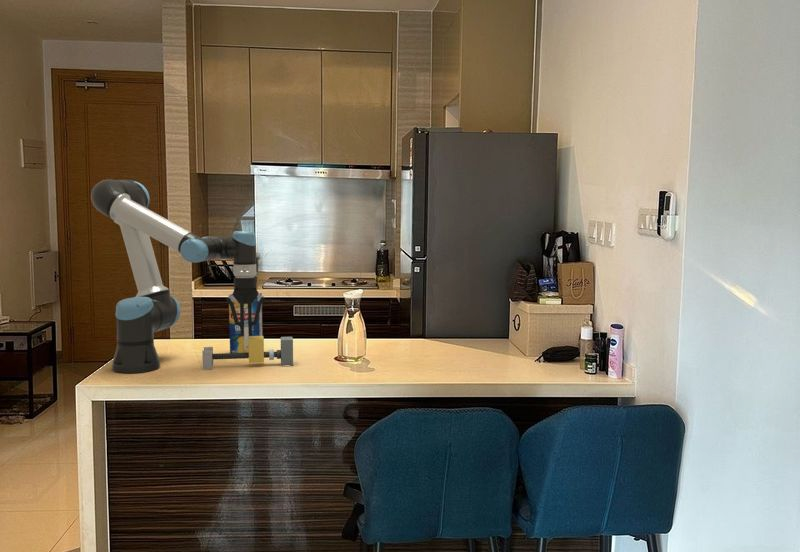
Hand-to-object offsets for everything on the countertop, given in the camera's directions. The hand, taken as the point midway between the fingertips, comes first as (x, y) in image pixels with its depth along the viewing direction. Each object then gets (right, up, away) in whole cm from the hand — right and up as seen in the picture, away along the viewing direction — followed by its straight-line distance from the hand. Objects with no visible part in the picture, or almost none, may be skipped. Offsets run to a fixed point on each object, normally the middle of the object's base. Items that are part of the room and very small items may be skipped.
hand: (246, 345), depth 250 cm
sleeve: (+3, -5, +1) cm, 6 cm away
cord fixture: (+1, -7, +1) cm, 7 cm away
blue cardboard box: (-4, -5, +20) cm, 21 cm away
